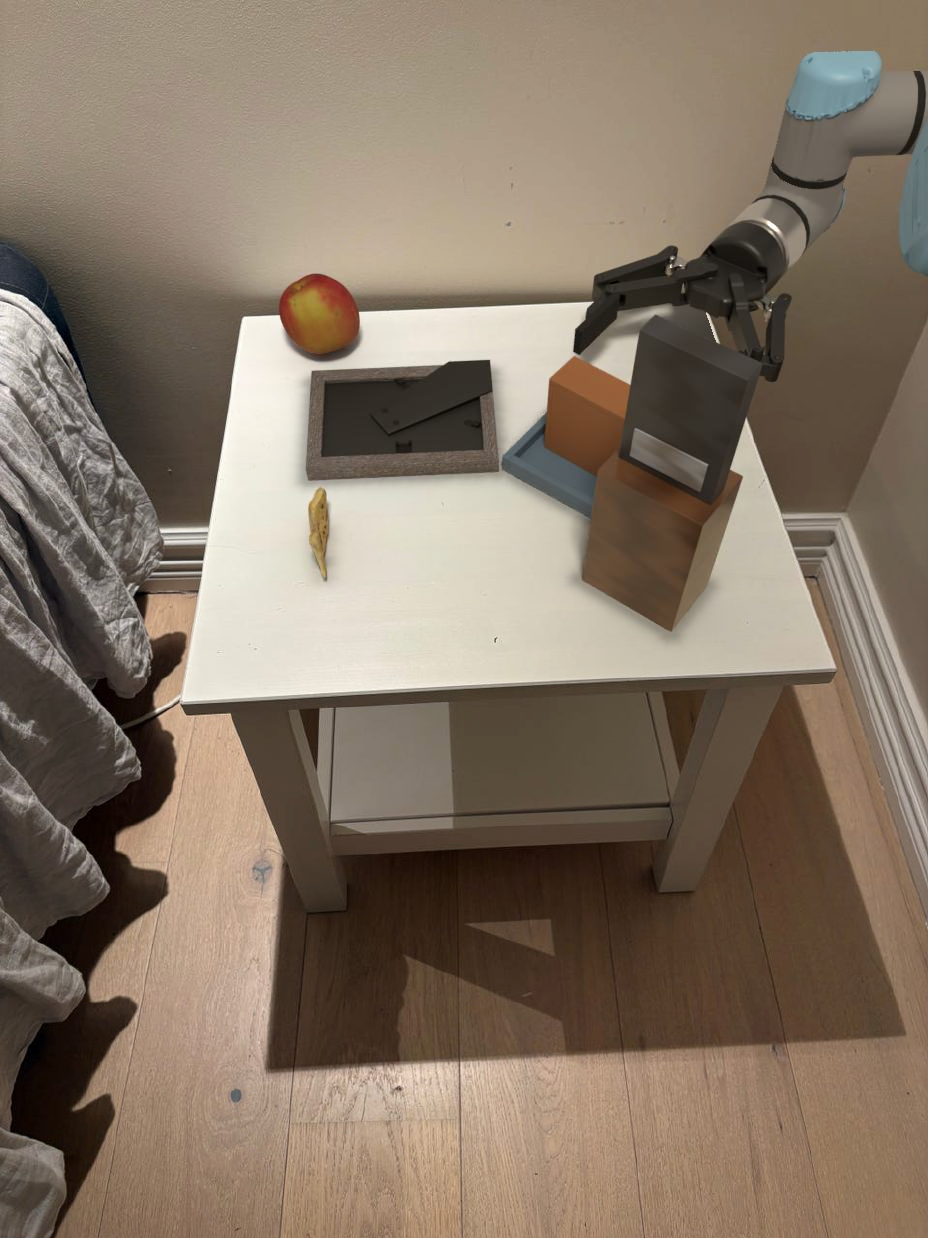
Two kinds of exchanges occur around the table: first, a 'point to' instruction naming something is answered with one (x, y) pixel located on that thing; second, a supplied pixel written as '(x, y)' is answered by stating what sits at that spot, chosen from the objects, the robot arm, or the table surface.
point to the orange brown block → (585, 414)
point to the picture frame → (402, 421)
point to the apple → (319, 314)
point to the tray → (550, 470)
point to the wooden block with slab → (670, 473)
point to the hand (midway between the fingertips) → (639, 372)
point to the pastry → (318, 526)
